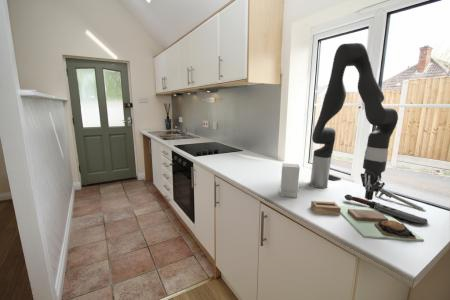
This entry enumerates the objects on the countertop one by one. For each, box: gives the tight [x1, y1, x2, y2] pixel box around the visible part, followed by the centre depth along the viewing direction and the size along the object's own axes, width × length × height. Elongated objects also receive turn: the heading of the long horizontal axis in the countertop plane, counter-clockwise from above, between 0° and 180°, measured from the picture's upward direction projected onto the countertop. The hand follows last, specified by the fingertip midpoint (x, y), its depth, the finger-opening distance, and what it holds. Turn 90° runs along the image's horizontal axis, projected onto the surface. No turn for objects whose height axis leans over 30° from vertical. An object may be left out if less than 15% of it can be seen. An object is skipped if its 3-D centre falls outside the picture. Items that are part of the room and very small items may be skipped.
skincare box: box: [280, 162, 301, 199], centre depth 111 cm, size 8×7×16 cm
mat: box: [338, 205, 425, 242], centre depth 88 cm, size 24×20×1 cm
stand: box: [310, 200, 341, 216], centre depth 96 cm, size 6×10×3 cm, turn 87°
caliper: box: [374, 186, 427, 212], centre depth 107 cm, size 20×1×6 cm, turn 35°
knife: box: [343, 194, 429, 224], centre depth 98 cm, size 9×2×30 cm
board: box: [347, 209, 388, 222], centre depth 90 cm, size 2×7×12 cm
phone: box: [328, 173, 342, 182], centre depth 145 cm, size 8×1×15 cm
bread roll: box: [375, 220, 416, 239], centre depth 80 cm, size 11×8×4 cm
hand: (368, 199), depth 92 cm, fingers closed
